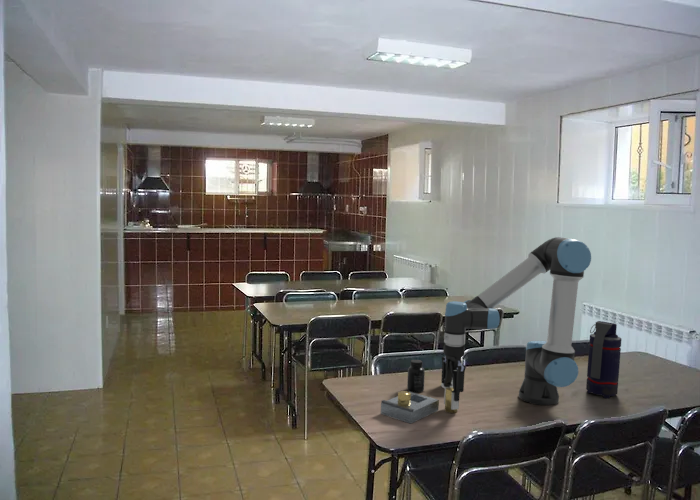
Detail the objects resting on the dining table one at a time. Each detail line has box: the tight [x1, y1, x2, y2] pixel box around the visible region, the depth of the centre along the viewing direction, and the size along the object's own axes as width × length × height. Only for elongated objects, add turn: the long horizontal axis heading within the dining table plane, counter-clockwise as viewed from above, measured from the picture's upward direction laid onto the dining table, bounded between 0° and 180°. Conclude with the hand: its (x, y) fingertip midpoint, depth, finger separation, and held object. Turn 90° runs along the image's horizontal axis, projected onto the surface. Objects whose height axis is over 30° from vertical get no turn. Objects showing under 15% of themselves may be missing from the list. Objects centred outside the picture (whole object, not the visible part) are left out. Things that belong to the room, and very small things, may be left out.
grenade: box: [585, 320, 622, 399], centre depth 239 cm, size 14×12×30 cm
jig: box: [380, 390, 440, 424], centre depth 212 cm, size 13×18×8 cm
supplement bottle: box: [406, 359, 426, 393], centre depth 237 cm, size 7×7×12 cm
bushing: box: [444, 388, 458, 414], centre depth 215 cm, size 5×5×8 cm
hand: (451, 406), depth 215 cm, fingers closed on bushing, 4 cm apart
